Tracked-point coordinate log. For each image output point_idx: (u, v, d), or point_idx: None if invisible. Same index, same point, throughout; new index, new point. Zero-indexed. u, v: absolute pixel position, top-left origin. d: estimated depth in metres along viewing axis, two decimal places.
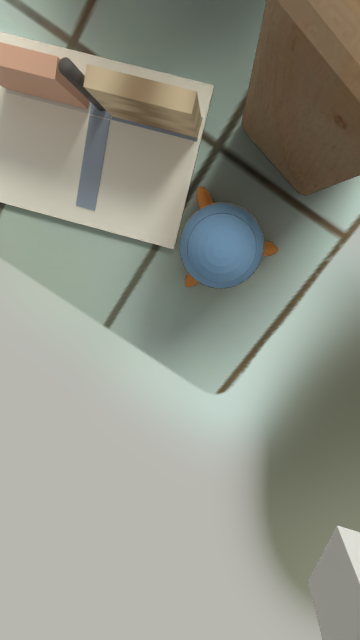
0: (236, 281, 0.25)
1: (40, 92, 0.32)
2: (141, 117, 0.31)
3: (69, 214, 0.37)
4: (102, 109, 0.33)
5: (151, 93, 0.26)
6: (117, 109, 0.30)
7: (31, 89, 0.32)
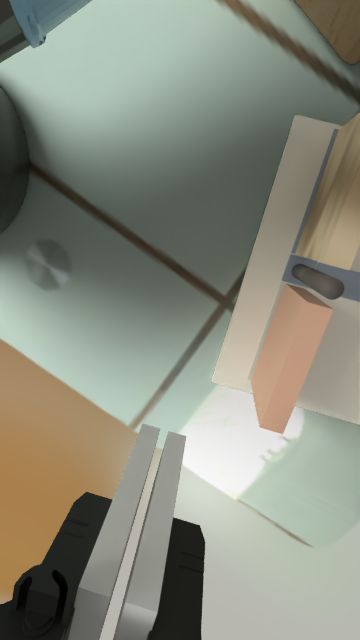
0: None
1: None
2: None
3: None
4: None
5: None
6: None
7: None
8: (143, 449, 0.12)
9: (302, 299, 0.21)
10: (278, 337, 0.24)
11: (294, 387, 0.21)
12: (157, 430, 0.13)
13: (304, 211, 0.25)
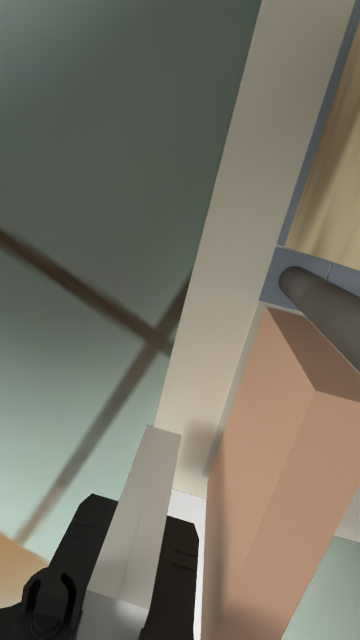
0: None
1: None
2: None
3: None
4: None
5: None
6: None
7: None
8: (148, 450, 0.12)
9: (300, 369, 0.08)
10: (247, 433, 0.11)
11: (281, 598, 0.08)
12: (162, 432, 0.13)
13: (303, 155, 0.12)
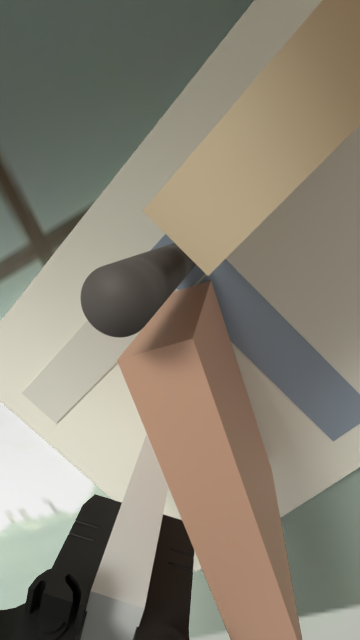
0: None
1: (242, 394, 0.12)
2: None
3: (339, 464, 0.15)
4: None
5: None
6: None
7: (248, 416, 0.12)
8: (151, 451, 0.12)
9: None
10: None
11: (251, 564, 0.08)
12: None
13: None
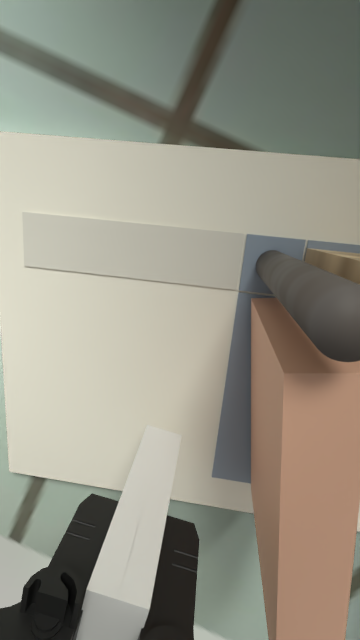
0: None
1: None
2: None
3: (197, 493, 0.16)
4: None
5: None
6: None
7: None
8: (148, 450, 0.12)
9: (274, 355, 0.07)
10: (261, 430, 0.10)
11: (330, 594, 0.08)
12: (162, 432, 0.13)
13: None
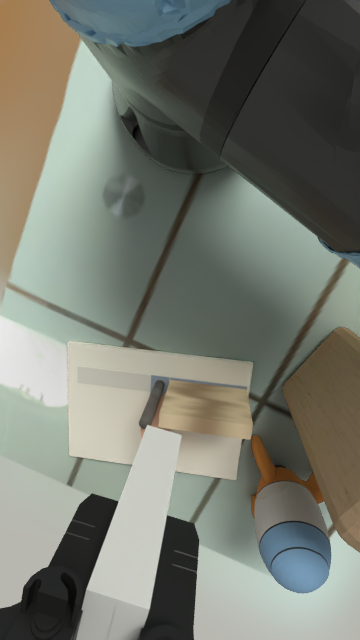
0: None
1: None
2: None
3: None
4: None
5: (215, 428, 0.32)
6: None
7: None
8: (148, 450, 0.12)
9: None
10: None
11: None
12: (162, 431, 0.13)
13: (197, 380, 0.39)
